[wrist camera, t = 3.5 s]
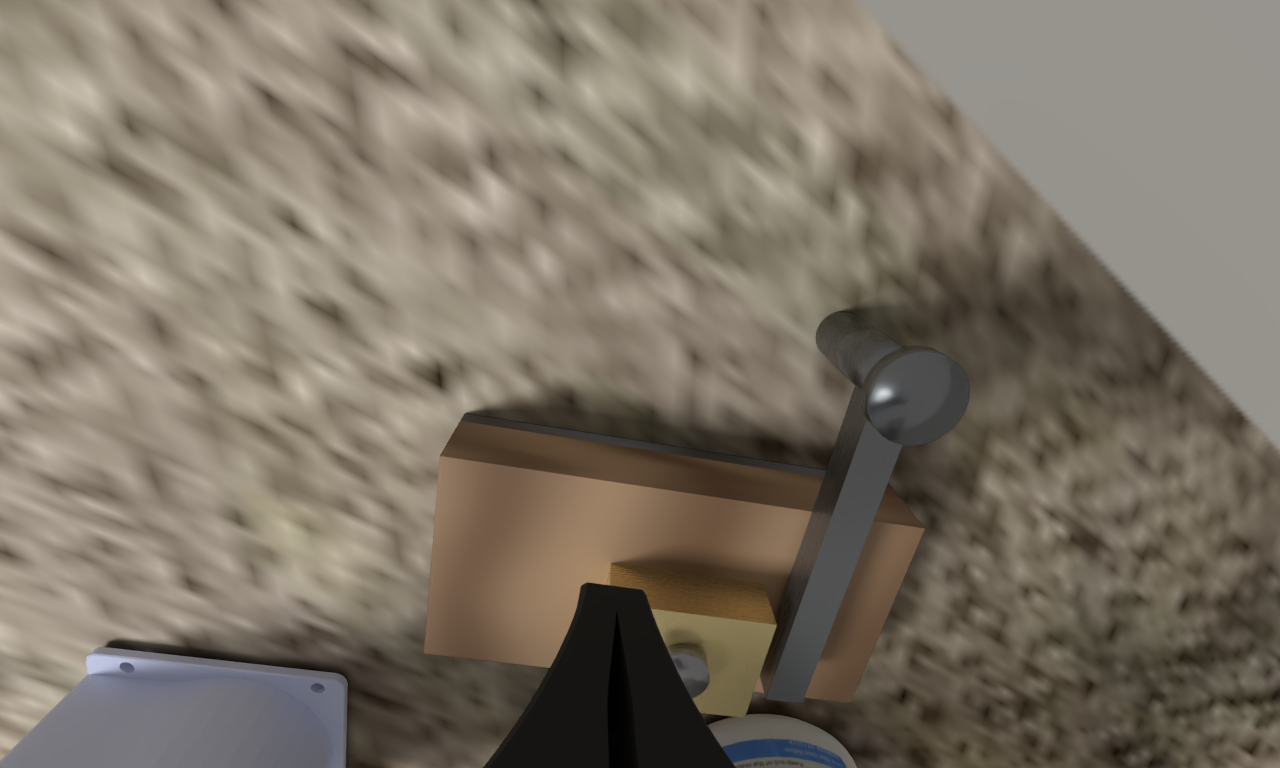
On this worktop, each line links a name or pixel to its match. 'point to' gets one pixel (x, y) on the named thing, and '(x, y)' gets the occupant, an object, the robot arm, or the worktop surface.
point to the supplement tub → (778, 743)
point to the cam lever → (856, 481)
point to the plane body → (629, 538)
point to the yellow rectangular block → (708, 632)
